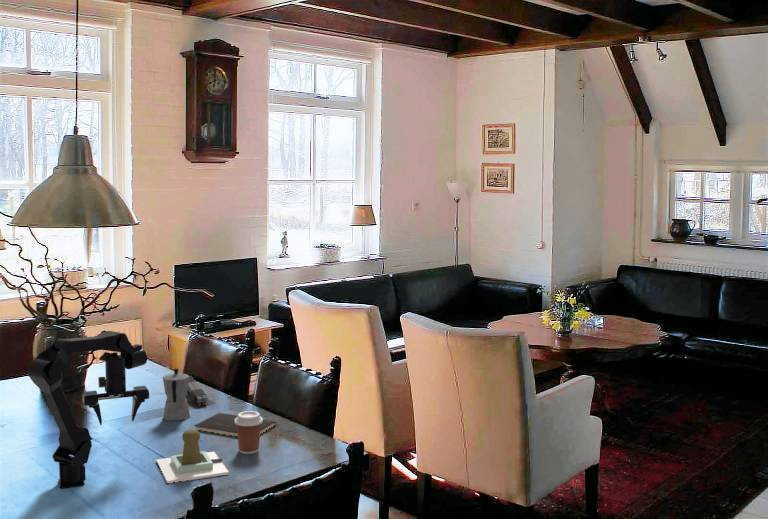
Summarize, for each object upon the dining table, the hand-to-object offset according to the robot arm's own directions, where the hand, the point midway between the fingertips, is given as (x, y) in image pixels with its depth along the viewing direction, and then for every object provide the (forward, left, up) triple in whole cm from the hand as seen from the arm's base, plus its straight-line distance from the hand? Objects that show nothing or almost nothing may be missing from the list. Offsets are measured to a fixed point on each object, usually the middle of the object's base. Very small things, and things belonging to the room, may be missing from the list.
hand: (116, 422), depth 246 cm
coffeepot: (+25, +37, -13) cm, 47 cm away
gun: (+36, +58, -14) cm, 69 cm away
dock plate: (+20, -12, -13) cm, 27 cm away
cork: (+20, -12, -12) cm, 26 cm away
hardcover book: (+42, +19, -14) cm, 48 cm away
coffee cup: (+40, -4, -13) cm, 42 cm away
